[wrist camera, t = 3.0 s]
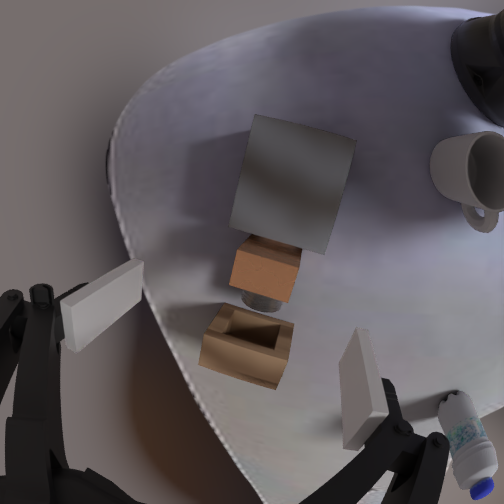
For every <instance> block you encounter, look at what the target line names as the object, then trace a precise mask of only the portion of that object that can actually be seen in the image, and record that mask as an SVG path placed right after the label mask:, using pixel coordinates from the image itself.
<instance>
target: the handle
mask: <svg viewBox="0 0 504 504" xmlns="http://www.w3.org/2000/svg"><path fill="white" fill-rule="evenodd" d="M301 253H302V248H299V247H296V246H292V245H289V244H285V243H282V242H279V241H275V240H272V239H268V238H265V237H261V236H258V235H254V234H251V235H250V236H249V237H248V239H247V240H246V241H245V242H244V243H243V244H242V245H241V246H240V247H239V248H238V249H237V252H236V257H235V261H234V265H233V270H232V274H231V278H230V283H229V285H231V286H234V287H237V288H240V289H243V292H242V296H241V299H242V301H243V302H244V303H245V304H246V305H247V306H248V307H250V308H252V309H254V310H257V311H261V312H276V311H278V310H280V308H281V305H282V302H286V303H288V301H289V298H290V295H291V292H292V289H293V286H294V283H295V280H296V276H297V273H298V270H299V266H300V260H301Z"/></svg>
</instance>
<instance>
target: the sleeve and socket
mask: <svg viewBox="0 0 504 504" xmlns="http://www.w3.org/2000/svg"><path fill="white" fill-rule="evenodd" d="M356 142H357V140H353V139H350V138H347V137H344V136H341V135H337V134H334V133H330V132H327V131H323V130H320V129H316V128H312V127H309V126H305V125H301V124H297V123H293V122H288V121H284V120H280V119H275V118H271V117H266V116H261V115H256V114H255V115H254V119H253V123H252V127H251V131H250V135H249V140H248V144H247V148H246V152H245V156H244V160H243V164H242V169H241V173H240V177H239V181H238V186H237V190H236V194H235V199H234V203H233V208H232V212H231V217H230V221H229V226H228V227H230V228H233V229H237V230H240V231H244V232H247V233H251V234H254V235H258V236H261V237H265V238H268V239H272V240H275V241H279V242H282V243H285V244H289V245H292V246H296V247H299V248H302V249H306V250H309V251H313V252H316V253H319V254H323V255H324V254H325V251H326V248H327V245H328V242H329V239H330V235H331V232H332V229H333V226H334V222H335V219H336V216H337V212H338V209H339V205H340V202H341V198H342V195H343V191H344V188H345V184H346V181H347V177H348V173H349V169H350V166H351V162H352V158H353V154H354V150H355V146H356ZM293 328H294V324H293V323H289V322H286V321H282V320H279V319H276V318H272V317H269V316H266V315H262V314H259V313H256V312H253V311H250V310H246V309H243V308H240V307H237V306H234V305H231V304H228V303H224V305H223V306H222V308H221V309H220V311H219V312H218V314H217V315H216V317H215V318H214V320H213V321H212V322H211V324H210V325H209V327H208V328H207V330H206V331H205V333H204V336H203V341H202V347H201V352H200V358H199V363H198V365H200V366H203V367H206V368H208V369H211V370H214V371H217V372H220V373H222V374H225V375H228V376H231V377H234V378H237V379H241V380H244V381H247V382H250V383H253V384H257V385H260V386H263V387H267V388H270V389H274V390H276V388H277V386H278V384H279V381H280V379H281V377H282V374H283V372H284V369H285V367H286V365H287V362H288V358H289V353H290V347H291V341H292V334H293Z"/></svg>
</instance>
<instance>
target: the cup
mask: <svg viewBox="0 0 504 504" xmlns="http://www.w3.org/2000/svg"><path fill="white" fill-rule="evenodd" d="M429 166H430V175H431V178H432V181H433V183H434V185H435V187H436V188H437V190H438V191H439V192H440V193H441V194H442V195H443V196H445V197H447V198H448V199H450V200H454V201H457V202H461V206H462V210H463V214H464V216H465V218H466V220H467V222H468V223H469V225H470V226H471V227H472V228H474V229H475V230H477V231H479V232H483V233H489V232H491V231H492V230H493V229H494V228H495V227H496V225H497V223H498V217H499V212H502V211H504V137H503V136H502V135H500V134H498V133H496V132H491V131H484V132H478V133H472V134H466V135H461V136H455V137H450V138H447V139H444V140H442V141H441V142H439V143H438V144H437V145H436V147H435V148H434V149H433V151H432V154H431V157H430V165H429ZM475 207H477V208H480V209H483V210H484V217H481V216H480V215H479V214H478V213H477V212H476V210H475Z"/></svg>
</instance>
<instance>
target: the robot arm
mask: <svg viewBox="0 0 504 504" xmlns="http://www.w3.org/2000/svg"><path fill="white" fill-rule="evenodd" d="M451 55H452V60H453V64H454V67H455V70H456V73H457V75H458V78H459V80H460V82H461V84H462V86H463V88H464V89H465V91H466V93H467V94H468V96H469V97H470V99H471V100H472V101H473V103H474V104H475V105H476V106H477V107H478V109H479V110H480V111H481V112H482V113H483V114H484V115H485V116H487V117H488V118H489V119H490V120H492V121H493V122H495V123H496V124H498V125H500V126H502V127H504V9H503V10H502V11H501V12H500V13H498V14H496V15H491V16H486V17H476V18H471V19H468V20H466V21H465V22H463V23H462V24H461V25H460V26H459V27H458V28H457V29H456V30H455V32H454V34H453V36H452V40H451ZM143 268H144V261H141V260H138V259H135V258H133V259H131V260H130V261H128V262H126V263H124V264H122V265H121V266H119V267H117V268H115V269H114V270H112V271H110V272H108V273H107V274H105V275H103V276H101V277H99V278H98V279H96V280H94V281H93V282H91V283H83V284H79V285H77V286H76V287H74V288H73V289H70V290H69V291H68V292H65V293H64V294H62V295H60V296H58V297H57V298H55V299H54V293H53V288H52V287H51V286H50V285H48V284H36V285H34V286H32V287H31V288H30V289H29V292H30V299H31V302H28V301H24V298H23V293H22V292H21V291H19V290H14V289H12V290H8V291H6V292H4V293H3V294H2V296H1V297H0V404H1V401H2V399H3V396H4V394H5V391H6V389H7V387H8V384H9V382H10V379H11V377H12V375H13V372H14V371H15V368H16V366H17V364H18V369H17V376H16V383H15V392H14V402H13V414H12V417H8V418H7V420H6V431H5V469H6V475H4V476H0V504H145V503H141V502H137V501H135V500H134V499H133V498H131V497H130V496H129V495H127V494H126V493H125V492H124V491H123V490H121V489H120V488H119V487H118V486H117V485H115V484H114V483H113V482H112V481H110V480H108V479H106V478H105V477H103V476H101V475H100V474H98V473H96V472H95V471H93V470H91V469H90V468H87V469H86V471H85V472H83V471H80V470H75V469H70V468H69V466H68V463H67V460H66V456H65V450H64V441H63V432H62V419H61V399H60V356H61V344H60V341H61V340H62V339H64V338H65V343H66V347H67V348H69V349H70V350H72V351H73V352H75V353H78V352H79V351H80V350H82V349H83V348H84V347H85V346H86V345H87V344H89V343H90V342H91V341H92V340H93V339H95V338H96V337H97V336H98V335H99V334H100V333H102V332H103V331H104V330H105V329H106V328H108V327H109V326H110V325H111V324H112V323H114V322H115V321H116V320H117V319H119V318H120V317H121V316H122V315H123V314H124V313H126V312H127V311H128V310H129V309H131V308H132V307H133V306H134V305H136V304H137V303H138V302H139V301H140V300H141V292H142V280H143ZM18 362H19V363H18ZM339 374H340V388H341V405H342V429H343V449H348V450H356V451H358V450H359V449H360V448H361V447H362V446H363V445H364V444H365V448H364V449H363V450H362V451H361V452H360V453H359V454H358V455H357V456H356V457H355V458H354V459H353V460H352V461H351V462H350V463H348V464H347V465H346V466H345V467H344V468H343V469H342V470H341V471H339V472H338V473H337V474H336V475H335V476H334V477H332V478H331V479H330V480H329V481H328V482H326V483H325V484H324V485H323V486H321V487H320V488H319V489H318V490H316V491H315V492H314V493H312V494H311V495H310V496H308V497H307V498H306V499H304V500H303V501H302V502H300V503H299V504H356V503H357V502H358V501H359V500H360V499H361V498H362V497H363V496H364V495H365V494H366V493H367V492H368V491H369V490H370V489H371V488H372V487H373V486H374V484H375V483H376V482H377V481H378V480H379V479H380V478H381V477H382V475H383V474H384V473H385V472H386V471H387V470H389V471H392V472H395V473H394V476H393V478H392V480H391V483H390V485H389V487H388V489H387V492H386V494H385V496H384V498H383V500H382V502H381V504H438V500H439V497H440V493H441V489H442V485H443V480H444V476H445V471H446V466H447V461H448V456H449V450H450V442H449V440H448V438H447V437H446V436H445V435H443V434H442V433H439V432H432V433H431V434H429V436H428V437H427V438H426V437H423V436H420V435H417V434H415V433H414V431H413V428H412V426H411V425H410V424H409V423H408V422H407V421H405V420H403V418H402V414H401V410H400V406H399V402H398V401H397V400H398V399H397V395H396V391H395V388H394V386H393V384H392V383H391V381H390V380H389V379H385V378H381V376H380V372H379V368H378V364H377V360H376V356H375V353H374V349H373V345H372V342H371V338H370V335H369V331H368V330H366V329H362V328H358V327H356V329H355V331H354V333H353V335H352V338H351V340H350V342H349V344H348V346H347V348H346V350H345V352H344V354H343V356H342V358H341V360H340V362H339Z"/></svg>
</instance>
